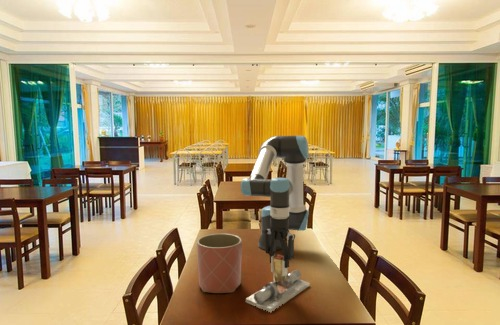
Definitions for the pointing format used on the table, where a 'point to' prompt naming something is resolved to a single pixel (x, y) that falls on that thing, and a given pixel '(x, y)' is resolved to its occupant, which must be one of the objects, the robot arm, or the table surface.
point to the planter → (219, 262)
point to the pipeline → (278, 292)
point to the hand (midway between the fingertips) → (279, 272)
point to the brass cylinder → (278, 268)
